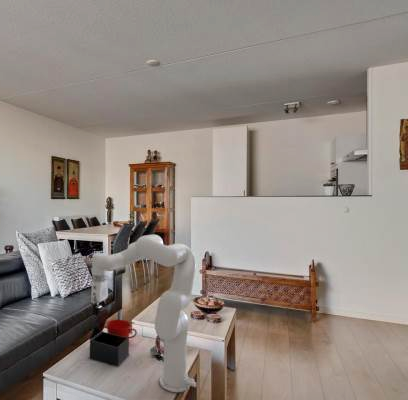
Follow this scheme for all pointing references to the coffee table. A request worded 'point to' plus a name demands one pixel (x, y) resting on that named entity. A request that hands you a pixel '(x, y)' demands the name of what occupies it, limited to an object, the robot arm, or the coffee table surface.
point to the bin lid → (100, 320)
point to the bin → (109, 348)
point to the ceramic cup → (120, 328)
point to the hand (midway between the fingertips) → (98, 312)
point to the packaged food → (154, 351)
